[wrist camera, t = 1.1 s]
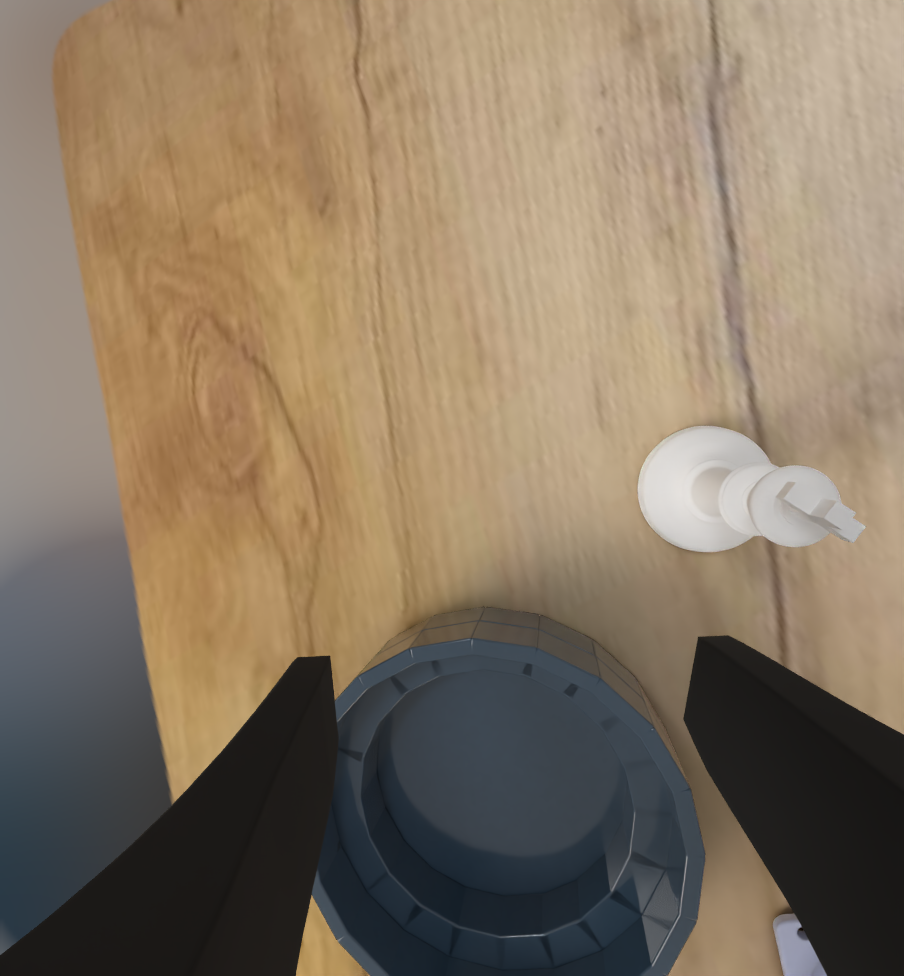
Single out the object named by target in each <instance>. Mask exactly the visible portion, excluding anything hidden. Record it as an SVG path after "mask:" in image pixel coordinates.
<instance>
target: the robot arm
mask: <svg viewBox="0 0 904 976" xmlns="http://www.w3.org/2000/svg"><path fill="white" fill-rule="evenodd" d="M684 721H685V724H686V726H687V728H688V731H689V733H690V735H691V737H692V740H693V742H694V744H695V746H696V749H697V751H698V753H699V755H700V757H701V759H702V761H703V763H704V765H705V767H706V769H707V771H708V773H709V775H710V776H711V778H712V780H713V781H714V783H715V785H716V786H717V788H718V790H719V791H720V793H721V794H722V796H723V798H724V799H725V801H726V803H727V804H728V806H729V808H730V809H731V811H732V813H733V814H734V816H735V817H736V819H737V821H738V822H739V824H740V825H741V827H742V829H743V830H744V832H745V833H746V835H747V837H748V838H749V840H750V841H751V843H752V845H753V846H754V848H755V850H756V851H757V853H758V854H759V856H760V858H761V859H762V861H763V862H764V864H765V866H766V867H767V869H768V870H769V872H770V874H771V875H772V877H773V879H774V880H775V882H776V883H777V885H778V887H779V888H780V890H781V891H782V893H783V895H784V896H785V898H786V900H787V902H788V903H789V905H790V907H791V909H792V910H793V912H794V914H782V915H779V916H777V917H776V918H775V919H774V921H773V929H774V933H775V938H776V943H777V947H778V952H779V956H780V961H781V965H782V970H783V974H784V976H904V735H903V734H902V733H900V732H898V731H896V730H894V729H892V728H890V727H888V726H887V725H885V724H883V723H881V722H879V721H877V720H875V719H874V718H872V717H870V716H868V715H867V714H865V713H863V712H861V711H859V710H858V709H856V708H854V707H852V706H851V705H849V704H847V703H845V702H844V701H842V700H840V699H838V698H837V697H835V696H833V695H831V694H830V693H828V692H826V691H825V690H823V689H821V688H819V687H818V686H816V685H814V684H813V683H811V682H809V681H807V680H806V679H804V678H802V677H801V676H799V675H797V674H796V673H794V672H792V671H791V670H789V669H787V668H785V667H784V666H782V665H780V664H779V663H777V662H775V661H774V660H772V659H770V658H768V657H767V656H765V655H763V654H762V653H760V652H758V651H756V650H755V649H753V648H751V647H749V646H747V645H746V644H744V643H742V642H740V641H738V640H736V639H734V638H732V637H730V636H728V635H727V636H707V637H698V641H697V647H696V652H695V658H694V663H693V669H692V675H691V680H690V686H689V691H688V697H687V702H686V708H685V713H684ZM338 743H339V738H338V728H337V718H336V709H335V699H334V689H333V679H332V670H331V660H330V656H315V657H297V658H296V659H295V660H294V661H293V662H292V663H291V665H290V666H289V667H288V669H287V670H286V672H285V673H284V674H283V676H282V677H281V678H280V680H279V681H278V682H277V684H276V685H275V686H274V688H273V689H272V690H271V691H270V693H269V694H268V695H267V697H266V698H265V699H264V700H263V702H262V703H261V704H260V706H259V707H258V708H257V709H256V711H255V712H254V713H253V714H252V716H251V717H250V718H249V719H248V720H247V722H246V723H245V724H244V725H243V727H242V728H241V729H240V730H239V731H238V733H237V734H236V735H235V736H234V737H233V739H232V740H231V741H230V742H229V743H228V745H227V746H226V747H225V748H224V749H223V750H222V752H221V753H220V754H219V755H218V756H217V757H216V758H215V759H214V760H213V761H212V763H211V764H210V765H209V766H208V767H207V768H206V769H205V770H204V771H203V772H202V774H201V775H200V776H199V777H198V778H197V779H196V780H195V781H194V782H193V784H192V785H191V786H190V787H189V788H188V789H187V790H186V791H185V792H184V793H183V794H182V795H181V796H180V797H179V798H178V799H177V800H176V801H175V802H174V803H173V805H172V806H171V807H170V808H169V809H168V810H167V811H166V812H165V813H164V814H163V815H162V816H161V817H160V818H159V819H158V820H157V821H156V822H155V823H154V824H152V825H151V826H150V827H149V828H148V829H147V830H146V831H145V832H144V833H143V834H142V835H141V836H140V837H139V838H138V839H137V840H136V841H135V842H134V843H133V844H132V845H131V846H129V847H128V848H127V849H126V850H125V851H124V852H123V853H122V854H121V855H120V856H119V857H118V858H116V859H115V860H114V861H113V862H112V863H111V864H109V865H108V866H107V867H106V868H105V869H104V870H103V871H102V872H100V873H99V874H98V875H97V876H96V877H95V878H94V879H92V880H91V881H90V882H89V883H88V884H87V885H85V886H84V887H83V888H82V889H81V890H80V891H78V892H77V893H76V894H75V895H74V896H73V897H71V898H70V899H69V900H68V901H67V902H66V903H65V904H63V905H62V906H61V907H60V908H59V909H57V910H56V911H55V912H54V913H53V914H52V915H50V916H49V917H48V918H47V919H45V920H44V921H43V922H42V923H41V924H39V925H38V926H37V927H36V928H34V929H33V930H32V931H30V932H29V933H28V934H27V935H25V936H24V937H23V938H22V939H20V940H19V941H18V942H17V943H15V944H14V945H13V946H11V947H10V948H9V949H8V950H6V951H5V952H4V953H3V954H1V955H0V976H296V970H297V964H298V959H299V953H300V948H301V942H302V936H303V932H304V927H305V922H306V918H307V913H308V909H309V904H310V899H311V895H312V890H313V886H314V881H315V876H316V872H317V867H318V863H319V858H320V853H321V849H322V844H323V840H324V835H325V830H326V826H327V821H328V816H329V812H330V807H331V802H332V797H333V790H334V781H335V772H336V762H337V753H338ZM801 927H802V928H803V930H804V931H798V929H799V928H801Z"/></svg>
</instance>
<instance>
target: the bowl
mask: <svg viewBox="0 0 904 976" xmlns="http://www.w3.org/2000/svg"><path fill="white" fill-rule="evenodd" d="M335 709H336V718H337V728H338V738H339V743H338V753H337V762H336V772H335V781H334V790H333V797H332V802H331V807H330V812H329V816H328V821H327V826H326V830H325V835H324V840H323V844H322V849H321V853H320V858H319V863H318V867H317V872H316V876H315V881H314V886H313V890H312V896H313V898H314V900H315V902H316V903H317V905H318V907H319V909H320V911H321V913H322V914H323V916H324V918H325V920H326V922H327V924H328V925H329V927H330V929H331V931H332V933H333V934H334V936H335V938H336V940H338V942H339V943H340V945H341V946H342V947H343V948H344V949H345V950H346V951H347V952H348V953H349V954H350V955H351V956H352V957H353V958H354V959H355V960H356V961H357V962H358V963H359V964H360V965H361V967H362V968H363V969H364V970H365V971H366V972H367V973H368V974H369V975H370V976H668V974H669V972H670V971H671V969H672V967H673V965H674V963H675V961H676V960H677V958H678V956H679V954H680V952H681V950H682V948H683V947H684V945H685V943H686V941H687V939H688V937H689V936H690V934H691V932H692V930H693V928H694V926H695V925H696V921H697V919H698V911H699V904H700V896H701V888H702V880H703V872H704V865H705V855H706V854H705V850H704V845H703V840H702V836H701V831H700V827H699V822H698V818H697V813H696V809H695V804H694V800H693V795H692V791H691V788H690V786H689V783H688V781H687V778H686V776H685V774H684V771H683V769H682V767H681V764H680V762H679V760H678V757H677V755H676V752H675V750H674V748H673V745H672V743H671V741H670V738H669V736H668V733H667V731H666V729H665V726H664V725H663V723H662V721H661V720H660V718H659V716H658V715H657V713H656V711H655V710H654V708H653V706H652V705H651V703H650V701H649V699H648V698H647V696H646V694H645V693H644V691H643V689H642V688H641V686H640V684H639V683H638V681H637V679H636V678H635V677H634V676H633V675H632V674H631V673H630V672H629V671H627V670H626V669H625V668H624V667H623V666H622V665H621V664H620V663H619V662H618V661H616V660H615V659H614V658H613V657H612V656H611V655H610V654H609V653H608V652H606V651H605V650H604V649H603V648H602V647H601V646H600V645H599V644H598V643H596V642H595V641H594V640H593V639H591V638H589V637H587V636H585V635H583V634H581V633H579V632H577V631H574V630H572V629H570V628H568V627H566V626H564V625H562V624H560V623H557V622H555V621H553V620H551V619H549V618H547V617H545V616H543V615H540V616H539V614H535V613H527V612H520V611H513V610H506V609H499V608H492V607H486V608H485V607H478V608H473V609H467V610H461V611H456V612H450V613H444V614H439V615H434V616H433V617H430V618H428V619H426V620H424V621H423V622H421V623H419V624H417V625H415V626H414V627H412V628H410V629H408V630H406V631H404V632H403V633H401V634H399V635H397V636H395V637H394V638H392V639H391V640H389V641H388V642H387V643H386V644H385V645H384V646H383V648H382V649H381V650H380V651H379V652H378V653H377V654H376V655H375V656H374V658H373V659H372V660H371V661H370V662H369V663H368V664H367V665H366V667H365V668H364V669H363V670H362V671H361V672H360V673H359V674H358V675H357V677H356V678H355V679H354V680H353V681H352V682H351V683H350V684H349V685H348V687H347V688H346V689H345V690H344V691H343V692H342V693H341V694H340V696H339V697H338V698H337V699H336V700H335Z"/></svg>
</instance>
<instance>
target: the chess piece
mask: <svg viewBox="0 0 904 976" xmlns="http://www.w3.org/2000/svg"><path fill="white" fill-rule="evenodd" d="M638 500H639V504H640V508H641V511H642V513H643V515H644V517H645V519H646V521H647V522H648V524H649V525H650V526H651V528H652V529H653V530H654V531H655V532H656V533H657V534H658V535H659V536H660V537H662V538H663V539H664V540H666V541H667V542H669V543H671V544H673V545H675V546H677V547H680V548H683V549H686V550H691V551H698V552H719V551H724V550H728V549H731V548H734V547H737V546H739V545H741V544H743V543H745V542H746V541H748V540H749V539H751V538H752V537H753V536H764V537H765V538H767V539H768V540H770V541H772V542H774V543H776V544H779V545H782V546H787V547H803V546H808V545H811V544H814V543H817V542H818V541H820V540H822V539H823V538H825V537H826V536H827V535H828V534H829V533H830V532H831V533H832V534H834V535H835V536H837V537H839V538H840V539H842V540H845V541H848V542H852V543H853V542H854V541H855V540H856V539H857V537H858V536H859V535H860V534H861V532H862V531H863V530H864V529H865V527H866V526H865V525H863V524H862V523H860V522H858V521H857V520H855V519H854V518H853V516H854V515H855V514H856V512H854V511H853V510H851V509H850V508H848V507H846V506H845V505H843V504H842V503H841V498H840V494H839V492H838V490H837V488H836V486H835V484H834V483H833V482H832V481H831V480H830V479H829V478H828V477H827V476H826V475H825V474H823V473H822V472H820V471H818V470H816V469H814V468H811V467H807V466H800V465H791V466H785V467H781V468H779V467H778V466H775V465H773V464H771V462H770V460H769V459H768V457H767V456H766V454H765V453H764V452H763V450H762V449H761V448H760V447H759V446H758V445H757V444H756V443H755V442H753V441H752V440H751V439H749V438H748V437H746V436H744V435H742V434H740V433H738V432H736V431H733V430H730V429H726V428H722V427H717V426H695V427H690V428H686V429H683V430H680V431H678V432H675V433H673V434H672V435H670V436H668V437H667V438H665V439H664V440H662V441H661V442H660V443H659V444H658V445H657V446H656V447H655V448H654V449H653V450H652V451H651V452H650V454H649V455H648V457H647V458H646V460H645V462H644V464H643V466H642V468H641V471H640V475H639V479H638Z"/></svg>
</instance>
